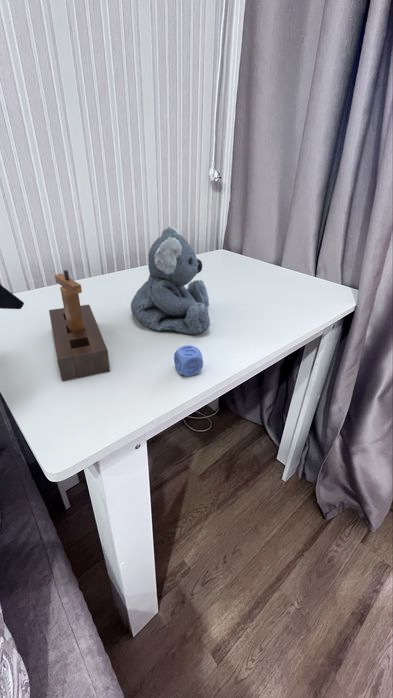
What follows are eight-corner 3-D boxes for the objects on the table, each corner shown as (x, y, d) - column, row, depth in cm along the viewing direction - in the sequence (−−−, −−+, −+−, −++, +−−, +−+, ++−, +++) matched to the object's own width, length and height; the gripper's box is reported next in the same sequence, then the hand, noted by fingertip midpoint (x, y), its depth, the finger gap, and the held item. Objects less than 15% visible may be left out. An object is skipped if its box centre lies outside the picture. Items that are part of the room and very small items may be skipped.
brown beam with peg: (83, 357, 61) (69, 278, 53) (65, 342, 65) (50, 266, 57) (93, 353, 63) (81, 275, 54) (76, 339, 67) (62, 263, 58)
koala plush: (210, 338, 69) (217, 243, 59) (124, 335, 69) (115, 239, 58) (208, 303, 84) (213, 222, 73) (137, 300, 83) (131, 219, 73)
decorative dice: (193, 361, 62) (194, 343, 60) (202, 373, 59) (203, 354, 57) (173, 365, 60) (173, 347, 58) (181, 378, 57) (182, 359, 55)
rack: (62, 381, 55) (56, 359, 53) (53, 329, 70) (48, 309, 67) (110, 371, 58) (107, 349, 56) (92, 323, 73) (89, 304, 70)
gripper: (-55, 184, 33) (68, 268, 46) (-92, 167, 44) (16, 239, 57) (-119, 277, 33) (23, 336, 45) (-140, 237, 43) (-21, 294, 56)
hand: (10, 296), depth 51 cm, fingers open, 9 cm apart
